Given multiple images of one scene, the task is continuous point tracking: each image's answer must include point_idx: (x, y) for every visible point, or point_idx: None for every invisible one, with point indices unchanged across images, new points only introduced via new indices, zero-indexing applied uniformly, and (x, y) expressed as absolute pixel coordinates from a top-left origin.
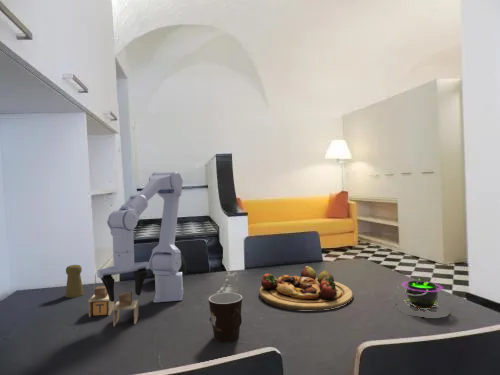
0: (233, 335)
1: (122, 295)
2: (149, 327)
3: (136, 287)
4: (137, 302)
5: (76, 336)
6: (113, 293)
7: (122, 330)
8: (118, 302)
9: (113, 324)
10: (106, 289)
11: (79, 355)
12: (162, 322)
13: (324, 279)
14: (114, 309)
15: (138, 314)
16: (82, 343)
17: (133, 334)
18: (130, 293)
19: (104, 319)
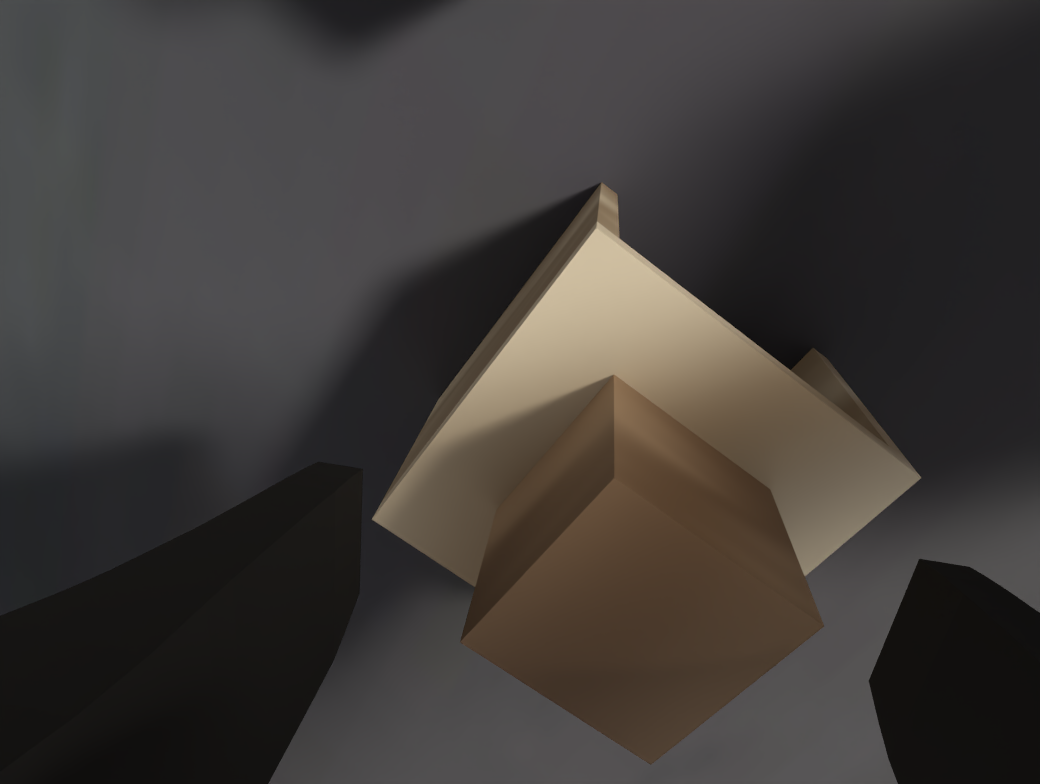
0: None
1: (524, 674)
2: None
3: (988, 741)
4: (850, 516)
5: (45, 334)
6: (268, 761)
7: None
8: (586, 304)
9: (435, 406)
10: (114, 579)
11: None
12: (850, 714)
13: None
14: (397, 522)
15: (834, 369)
16: (82, 530)
17: (493, 709)
18: (723, 694)
19: (446, 60)
